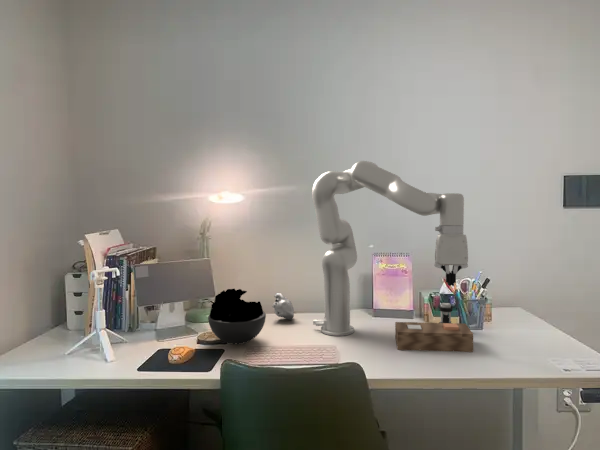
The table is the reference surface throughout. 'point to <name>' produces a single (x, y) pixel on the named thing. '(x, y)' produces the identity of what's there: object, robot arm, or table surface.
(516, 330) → the table surface
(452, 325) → the orange block
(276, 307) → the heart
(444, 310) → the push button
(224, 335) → the coal bowl
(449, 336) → the button box
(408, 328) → the grey plunger
